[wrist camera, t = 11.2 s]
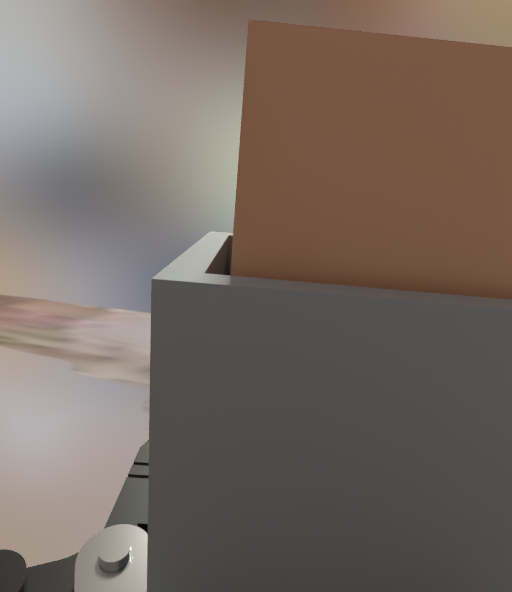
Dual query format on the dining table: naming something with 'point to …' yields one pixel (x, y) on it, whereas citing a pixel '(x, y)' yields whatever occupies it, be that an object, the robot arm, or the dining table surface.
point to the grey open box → (325, 435)
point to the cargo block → (375, 161)
